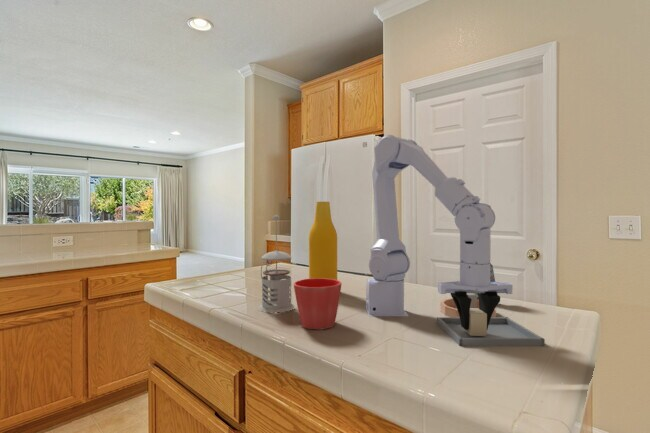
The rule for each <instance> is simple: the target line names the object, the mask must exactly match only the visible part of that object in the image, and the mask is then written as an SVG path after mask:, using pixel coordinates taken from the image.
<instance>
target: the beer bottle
mask: <svg viewBox="0 0 650 433" xmlns="http://www.w3.org/2000/svg"><path fill="white" fill-rule="evenodd" d="M330 205H331V204H330V201H316V203H315V212H314V220H313V223H312V226H311V227H310V231H309V233H308V279H312V278H325V279H334V280H338V233H337V230H336V228H335V225H334V223H333V221H332V214H331V206H330Z"/></svg>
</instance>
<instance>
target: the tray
mask: <svg viewBox="0 0 650 433" xmlns="http://www.w3.org/2000/svg"><path fill="white" fill-rule="evenodd" d="M436 324H437V325H438V326H439V327H440V328H441V329H442V330H443V331H444V332H445V333H446V334H447V335H448V336H449V337H450V338H451V339H452V340H453V341H454V342H455V343H456V344H457V345H458V346H459V347H484V346H485V347H486V346H487V347H499V346H500V347H507V346H508V347H513V346H514V347H516V346H517V347H522V346H523V347H525V346H526V347H530V346H531V347H534V346H535V347H536V346H537V347H538V346H539V347H541V346H542V347H544V346H545V345H546V344H545V343H546V342H545V338H543V337H542V336H540V335H538V334H537V333H535V332H534V331H531V330H530V329H528V328H527V327H524V326H523V325H521V324H519V323H518V322H516V321H514V320H513V319H511V318H510V317H505V316H504V317H503V316H502V317H500V316H499V317H497V316H496V317H491V319H490V322H489V325H488V329H487V336H470V335H469V334H468V333H467V332H466V331H465V330H463V327H462V326H461V320H460V317H448V316H445V317H441V316H440V317H436Z"/></svg>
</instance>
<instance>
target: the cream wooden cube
mask: <svg viewBox="0 0 650 433" xmlns="http://www.w3.org/2000/svg"><path fill="white" fill-rule="evenodd" d="M463 330H465V329H464V328H463ZM465 331H466V332H467V333H468V334H469V335H470V336H487V314H486V313H485V312H483V311H482V310H480V309H478V308H470V311H469V330H465Z"/></svg>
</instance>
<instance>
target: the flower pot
mask: <svg viewBox="0 0 650 433" xmlns="http://www.w3.org/2000/svg"><path fill="white" fill-rule="evenodd" d="M342 284H343V283H342V282H341V281H340V280H338V279H337V280H334V279H325V278H312V279H309V278H305V279H299V280H297V281H295V282H294V283H293V288H294V294H295V301H296V305H297V310H298V314H299V320H300V324H301V327H303V328H305V329H309V330H325V329H326V330H327V329H330V328H333V327H334V326H335V323H336V319H337V315H338V309H339V303H340V297H341V291H342V290H341V289H342Z"/></svg>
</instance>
